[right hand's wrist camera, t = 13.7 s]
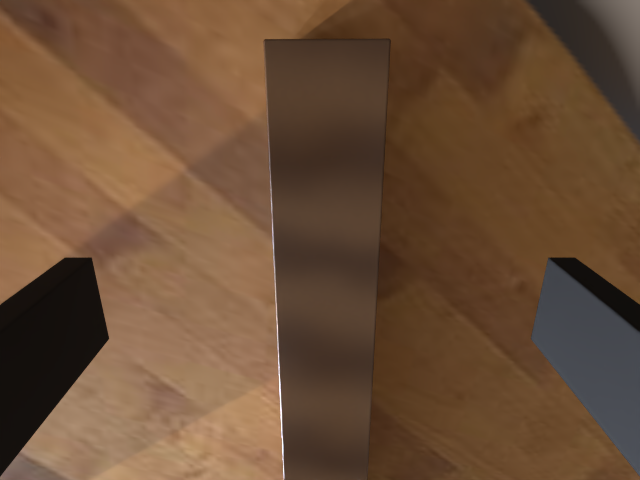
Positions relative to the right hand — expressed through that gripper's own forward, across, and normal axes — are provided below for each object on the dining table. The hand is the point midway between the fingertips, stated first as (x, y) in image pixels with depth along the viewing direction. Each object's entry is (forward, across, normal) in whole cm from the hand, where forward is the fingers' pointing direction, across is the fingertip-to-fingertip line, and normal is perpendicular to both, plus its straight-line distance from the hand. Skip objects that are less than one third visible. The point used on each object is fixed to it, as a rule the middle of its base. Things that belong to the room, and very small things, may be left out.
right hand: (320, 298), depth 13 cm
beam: (+16, 0, -19) cm, 24 cm away
